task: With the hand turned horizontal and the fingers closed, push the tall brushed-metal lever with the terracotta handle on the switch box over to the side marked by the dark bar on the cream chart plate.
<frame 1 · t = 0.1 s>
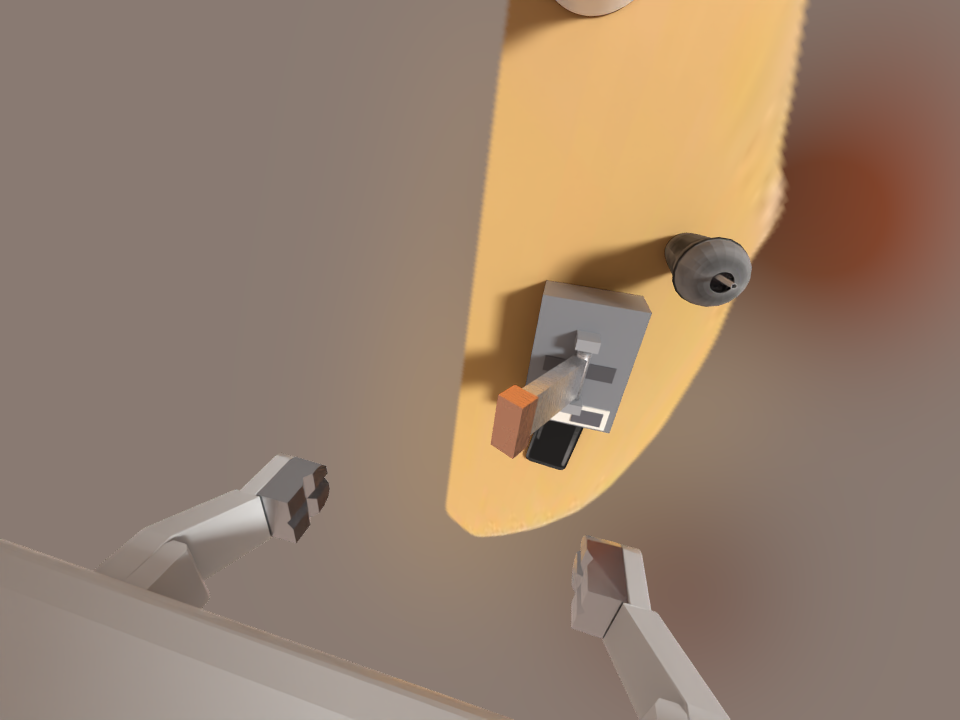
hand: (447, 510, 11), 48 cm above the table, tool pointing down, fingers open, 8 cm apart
beverage cup: (682, 250, 50), on the table
switch box: (578, 347, 59), on the table
lever: (548, 395, 46), point 16 cm above the table, hinge at -28.0°
phone: (555, 431, 69), on the table
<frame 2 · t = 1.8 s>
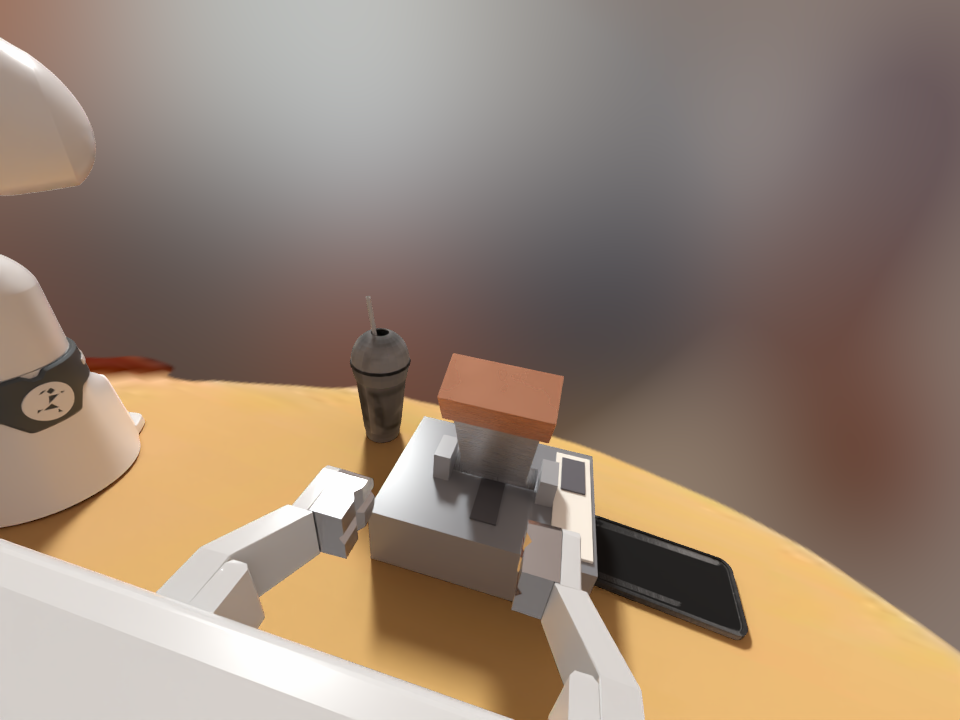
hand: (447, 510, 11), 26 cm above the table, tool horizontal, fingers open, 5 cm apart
beverage cup: (383, 432, 52), on the table
switch box: (485, 525, 41), on the table
lever: (497, 440, 30), point 16 cm above the table, hinge at -28.0°
phone: (653, 575, 38), on the table
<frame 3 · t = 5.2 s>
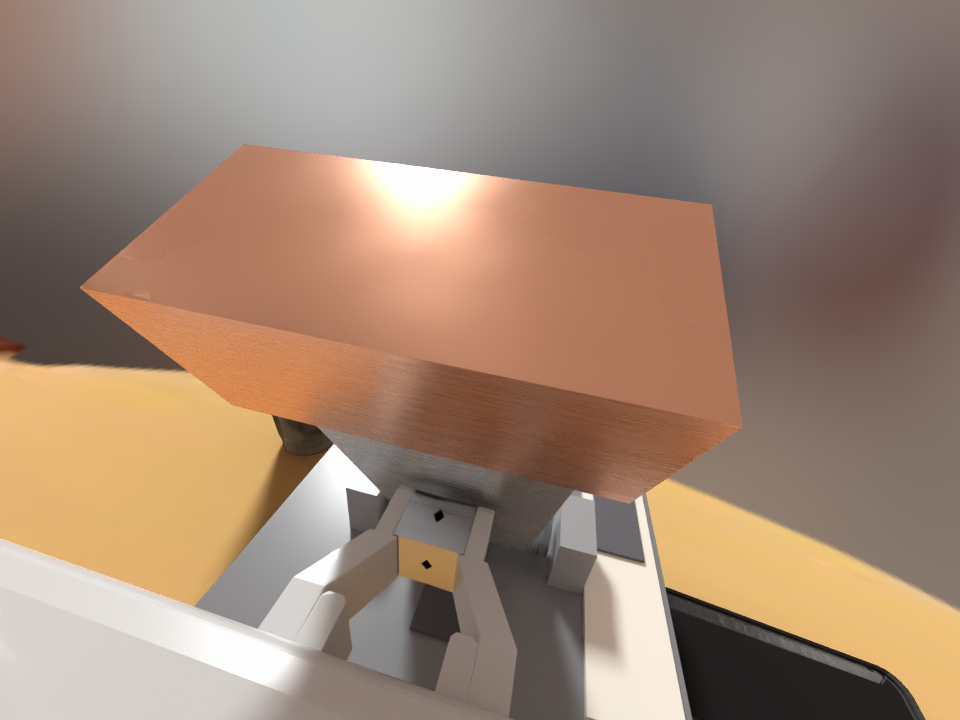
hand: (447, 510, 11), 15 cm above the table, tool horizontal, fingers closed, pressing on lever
beverage cup: (310, 439, 34), on the table
switch box: (458, 604, 23), on the table
lever: (461, 466, 12), point 16 cm above the table, hinge at -27.9°, touching gripper
phone: (767, 705, 21), on the table
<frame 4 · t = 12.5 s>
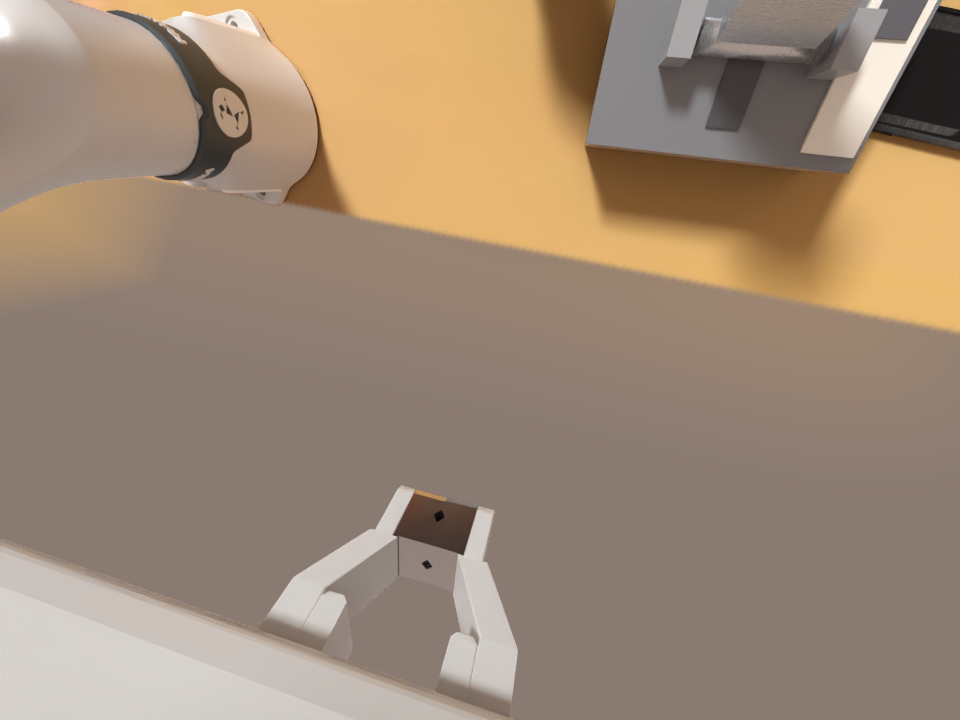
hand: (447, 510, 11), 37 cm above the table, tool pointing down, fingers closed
switch box: (719, 67, 32), on the table
phone: (950, 88, 30), on the table
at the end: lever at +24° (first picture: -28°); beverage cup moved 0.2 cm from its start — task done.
